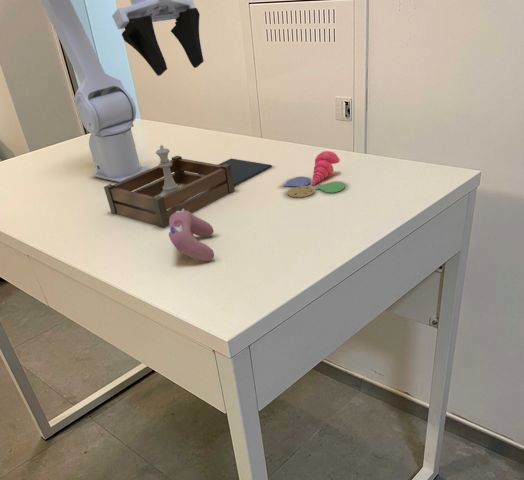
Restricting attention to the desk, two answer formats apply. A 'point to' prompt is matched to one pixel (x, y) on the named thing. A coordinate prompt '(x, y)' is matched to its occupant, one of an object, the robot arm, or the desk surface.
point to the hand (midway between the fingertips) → (181, 68)
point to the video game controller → (190, 235)
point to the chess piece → (166, 172)
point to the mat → (244, 169)
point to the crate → (155, 208)
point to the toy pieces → (317, 177)
